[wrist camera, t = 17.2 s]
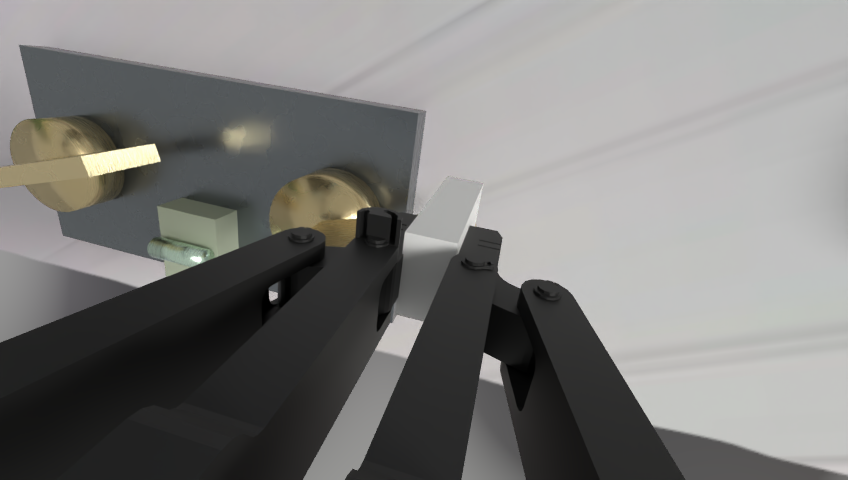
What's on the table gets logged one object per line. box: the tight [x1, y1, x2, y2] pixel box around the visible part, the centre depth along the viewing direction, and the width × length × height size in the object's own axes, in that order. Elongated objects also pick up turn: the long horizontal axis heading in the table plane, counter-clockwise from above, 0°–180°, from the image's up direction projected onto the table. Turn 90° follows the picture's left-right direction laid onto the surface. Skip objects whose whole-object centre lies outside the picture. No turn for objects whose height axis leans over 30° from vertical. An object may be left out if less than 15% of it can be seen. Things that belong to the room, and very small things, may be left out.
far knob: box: [0, 116, 161, 212], centre depth 29 cm, size 14×7×8 cm, turn 99°
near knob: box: [269, 168, 476, 247], centre depth 25 cm, size 14×7×8 cm, turn 98°
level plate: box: [19, 45, 426, 323], centre depth 31 cm, size 32×16×6 cm, turn 82°
